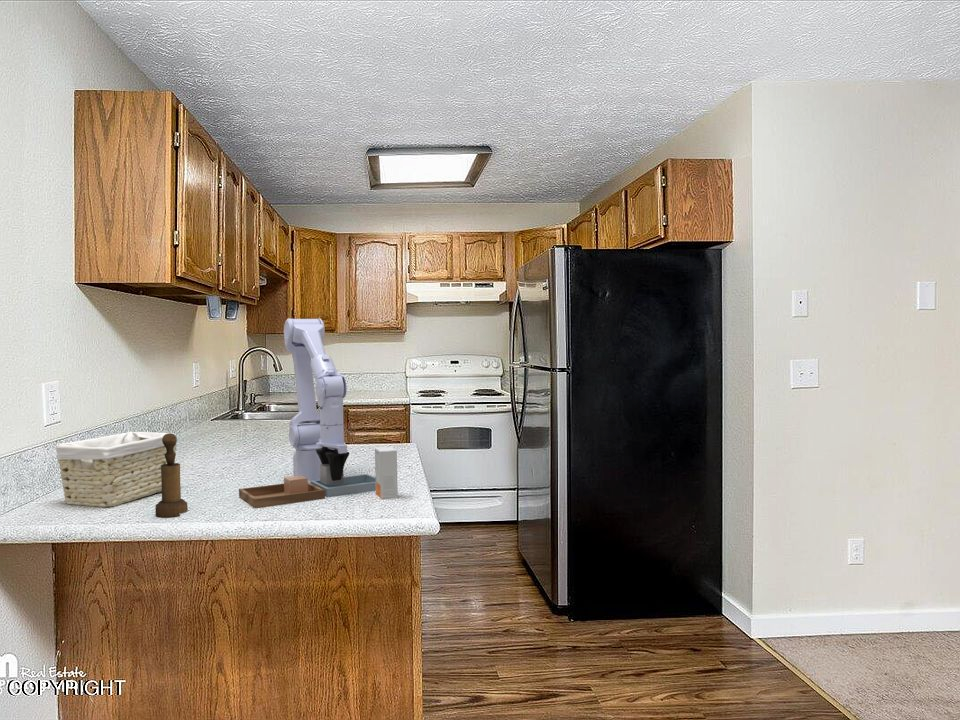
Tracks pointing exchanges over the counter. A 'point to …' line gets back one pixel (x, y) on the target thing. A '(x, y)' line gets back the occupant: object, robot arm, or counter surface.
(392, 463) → the skincare box
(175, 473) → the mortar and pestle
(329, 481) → the grey cube
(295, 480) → the russet cube
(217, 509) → the counter surface
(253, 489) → the walnut bin
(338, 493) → the slate tray
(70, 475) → the storage basket
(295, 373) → the robot arm
